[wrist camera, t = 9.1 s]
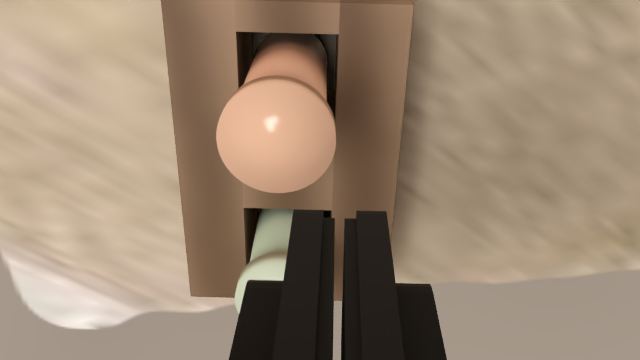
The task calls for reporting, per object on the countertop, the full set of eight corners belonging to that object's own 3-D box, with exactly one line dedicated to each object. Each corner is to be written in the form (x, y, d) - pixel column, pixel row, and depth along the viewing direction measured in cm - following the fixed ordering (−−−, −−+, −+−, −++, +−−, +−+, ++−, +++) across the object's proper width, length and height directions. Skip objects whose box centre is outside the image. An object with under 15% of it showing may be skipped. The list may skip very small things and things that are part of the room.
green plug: (329, 167, 38) (330, 265, 29) (327, 229, 41) (327, 338, 32) (255, 165, 38) (232, 262, 29) (257, 227, 41) (236, 335, 32)
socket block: (400, -19, 33) (413, 4, 28) (378, 246, 42) (384, 302, 37) (187, -25, 33) (160, -3, 28) (208, 241, 42) (190, 296, 37)
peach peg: (336, 19, 32) (338, 85, 23) (333, 103, 34) (334, 194, 25) (246, 17, 32) (212, 81, 23) (249, 101, 34) (219, 191, 25)
